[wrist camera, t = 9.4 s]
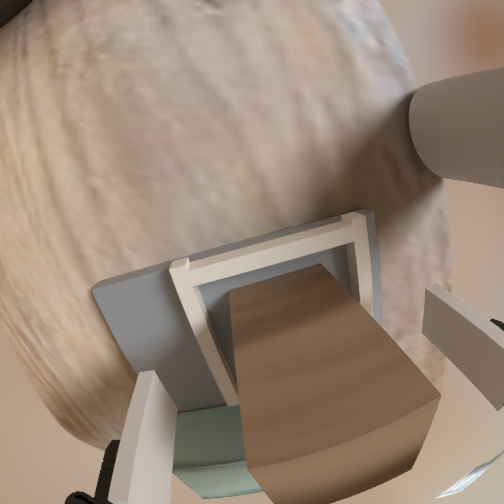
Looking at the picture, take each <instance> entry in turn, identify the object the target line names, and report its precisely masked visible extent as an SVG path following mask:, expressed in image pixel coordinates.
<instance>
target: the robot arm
mask: <svg viewBox="0 0 504 504" xmlns="http://www.w3.org/2000/svg"><path fill="white" fill-rule="evenodd" d="M30 1H31V0H0V27H1V26H2V25H3V24H4V23H6V22H7V21H8V20H9V19H11V18H12V17H13V16H14V15H15V14H16V13H18V12H19V11H20V10H21V9H22V8H23V7H24V6H25V5H27V4H28V3H29V2H30ZM422 333H423V334H424V335H425V336H426V337H427V338H428V339H429V340H430V341H431V342H432V343H433V344H434V345H435V346H436V347H437V348H438V349H439V350H440V351H441V352H442V353H443V354H444V355H445V356H446V357H447V358H448V359H450V361H451V362H452V363H453V364H454V365H455V366H456V367H457V368H458V369H459V370H460V371H461V372H462V373H463V374H464V375H465V376H466V377H467V378H468V379H469V380H470V381H471V382H472V383H473V384H474V385H475V387H477V389H478V390H479V391H480V392H481V393H482V394H483V395H484V396H485V397H486V398H487V399H488V400H489V402H490V403H491V404H492V405H493V406H494V407H495V408H496V409H497V411H498V410H500V409H501V408H502V407H503V406H504V323H502V322H501V321H498V320H495V319H491V320H488V319H487V318H485V317H484V316H483V315H481V314H480V313H478V312H477V311H476V310H475V309H473V308H472V307H470V306H469V305H467V304H466V303H465V302H463V301H462V300H460V299H459V298H457V297H456V296H455V295H453V294H452V293H450V292H449V291H447V290H446V289H444V288H443V287H441V286H440V285H438V284H437V283H436V284H434V285H432V286H430V287H428V288H426V291H425V306H424V318H423V328H422ZM177 412H178V408H177V406H176V405H175V403H174V402H173V400H172V399H171V397H170V396H169V394H168V392H167V391H166V389H165V388H164V386H163V384H162V383H161V381H160V380H159V378H158V376H157V375H156V373H155V371H154V370H151V371H145V372H139V375H138V378H137V382H136V385H135V388H134V392H133V395H132V399H131V402H130V406H129V409H128V413H127V417H126V421H125V424H124V428H123V432H122V436H121V440H112V441H111V443H110V444H109V445H108V447H107V448H106V450H105V454H104V458H103V460H104V461H103V462H102V466H101V469H102V470H100V474H99V478H98V483H97V487H96V491H95V496H94V498H92V497H91V496H90V495H88V494H86V493H84V492H79V491H77V492H74V493H72V494H70V495H69V496H68V497H67V499H66V501H65V504H171V503H170V502H171V484H172V468H173V455H174V443H175V432H176V421H177Z"/></svg>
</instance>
